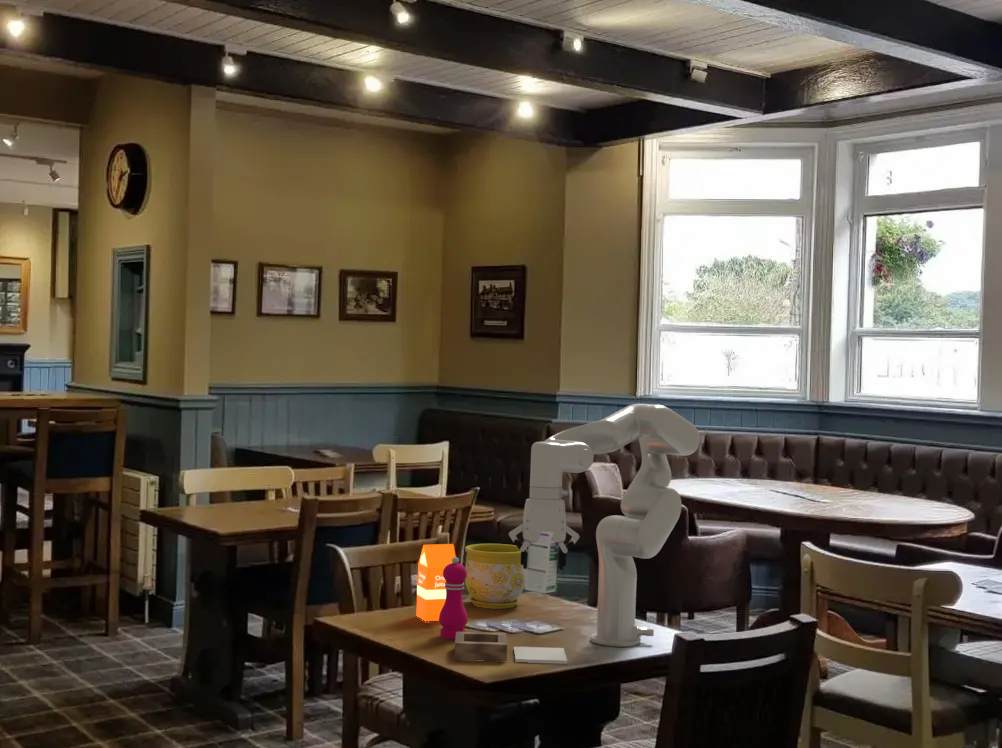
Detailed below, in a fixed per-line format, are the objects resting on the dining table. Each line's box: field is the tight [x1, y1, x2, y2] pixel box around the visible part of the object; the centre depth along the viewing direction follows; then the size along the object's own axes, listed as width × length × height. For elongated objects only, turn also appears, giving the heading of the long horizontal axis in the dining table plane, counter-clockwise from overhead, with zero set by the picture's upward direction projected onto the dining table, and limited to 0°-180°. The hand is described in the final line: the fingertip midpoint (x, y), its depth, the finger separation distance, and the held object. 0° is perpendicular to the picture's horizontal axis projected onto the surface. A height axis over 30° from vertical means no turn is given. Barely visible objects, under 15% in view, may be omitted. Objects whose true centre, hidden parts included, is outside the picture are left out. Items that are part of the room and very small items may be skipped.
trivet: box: [513, 646, 568, 665], centre depth 265 cm, size 12×12×1 cm
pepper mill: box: [438, 556, 469, 640], centre depth 283 cm, size 7×7×20 cm
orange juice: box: [415, 543, 457, 623], centre depth 304 cm, size 8×9×20 cm
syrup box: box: [524, 530, 561, 595], centre depth 265 cm, size 6×6×14 cm
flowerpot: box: [464, 543, 528, 610], centre depth 325 cm, size 18×18×16 cm
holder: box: [454, 631, 508, 662], centre depth 265 cm, size 12×12×4 cm
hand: (542, 568), depth 265 cm, fingers closed on syrup box, 8 cm apart
